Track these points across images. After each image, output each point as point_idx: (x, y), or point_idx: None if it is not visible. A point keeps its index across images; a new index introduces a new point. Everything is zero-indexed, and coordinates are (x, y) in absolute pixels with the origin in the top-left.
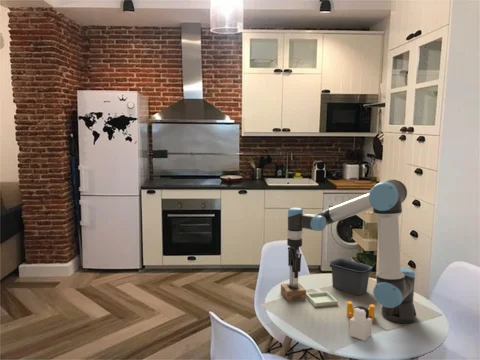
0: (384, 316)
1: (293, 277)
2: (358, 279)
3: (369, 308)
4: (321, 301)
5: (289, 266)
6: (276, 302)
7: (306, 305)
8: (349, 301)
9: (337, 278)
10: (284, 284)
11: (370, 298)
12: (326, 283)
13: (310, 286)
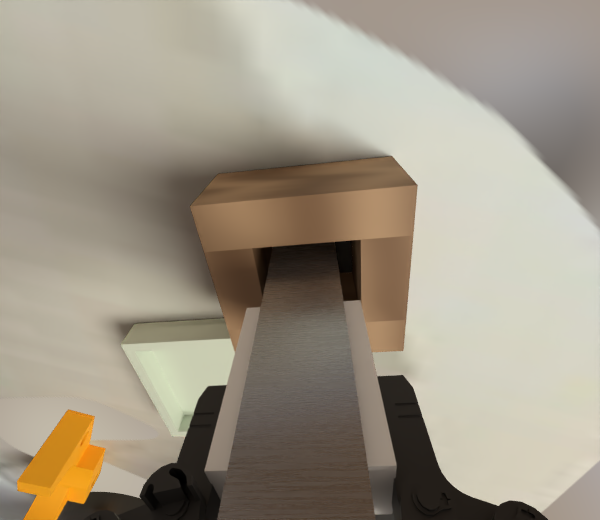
0: (93, 495)
1: (229, 378)
2: None
3: (35, 510)
4: (205, 372)
5: (449, 506)
6: (183, 59)
7: (156, 287)
8: (49, 492)
9: None
10: (396, 223)
11: None
12: (457, 445)
13: (447, 378)
